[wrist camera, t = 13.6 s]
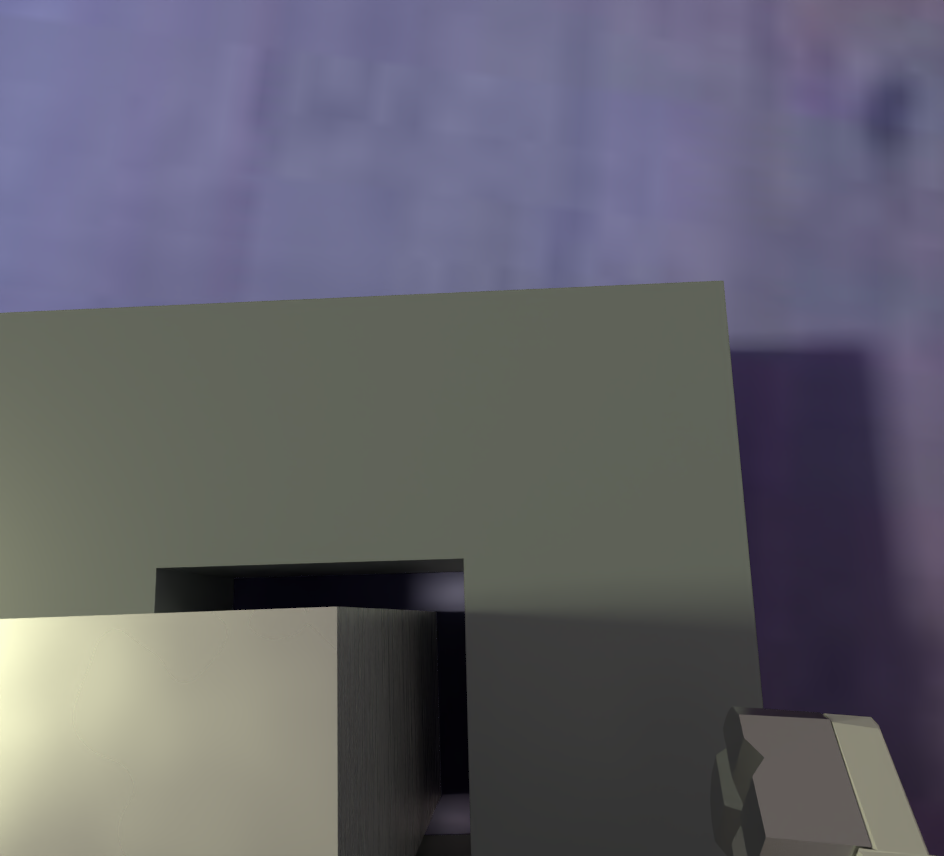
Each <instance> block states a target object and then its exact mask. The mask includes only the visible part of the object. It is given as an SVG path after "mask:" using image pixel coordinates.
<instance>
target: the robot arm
mask: <svg viewBox="0 0 944 856" xmlns="http://www.w3.org/2000/svg"><path fill="white" fill-rule="evenodd" d="M723 733H724V738H725V744H726V748H725V749H724V750H723V751H721V752H720V753H718V754H717V755H716V757H715V761H714V766H713V770H712V775H711V791H710V806H711V820H712V827H713V833H714V840H715V842H716V844H717V845H718V846H719V847H720V848H721V849H722V851H723V852H724V853H725V854H726V855H727V856H936V855H929V852H928V850H927V847H926V845H925V842H924V840H923V837H922V835H921V832H920V829H919V827H918V824H917V822H916V819H915V817H914V814H913V811H912V809H911V806H910V804H909V801H908V799H907V796H906V794H905V791H904V788H903V786H902V783H901V781H900V778H899V776H898V773H897V771H896V768H895V765H894V763H893V760H892V758H891V755H890V753H889V750H888V747H887V745H886V742H885V740H884V737H883V735H882V732H881V730H880V727H879V725H878V724H877V723H876V722H875V721H874V720H873V718H872V717H864V716H851V715H838V714H826V713H825V714H821V713H819V712H806V711H792V710H778V709H763V708H749V707H735V706H732V707H731V708H730V710H729V711H728V713H727V715H726V719H725V722H724V726H723Z"/></svg>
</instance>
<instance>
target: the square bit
mask: <svg viewBox="0 0 944 856" xmlns="http://www.w3.org/2000/svg"><path fill="white" fill-rule="evenodd" d="M441 795H442V791H441V753H440V716H439V678H438V640H437V611H417V610H396V609H376V608H356V607H312V608H285V609H258V610H231V611H204V612H177V613H150V614H123V615H96V616H69V617H42V618H15V619H0V856H415V855H416V853H417V851H418V848H419V846H420V844H421V841H422V839H423V837H424V834H425V832H426V830H427V828H428V825H429V823H430V821H431V818H432V816H433V814H434V811H435V809H436V807H437V804H438V802H439V800H440V798H441Z"/></svg>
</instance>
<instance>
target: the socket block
mask: <svg viewBox="0 0 944 856" xmlns="http://www.w3.org/2000/svg"><path fill="white" fill-rule="evenodd" d="M431 572H464V594H465V633H466V673H467V713H468V752H469V792H470V831H471V834H462V835H424V837H423V839H422V841H421V844H420V846H419V848H418V851H417V853H416V855H415V856H727V855H726V854H725V853H724V852H723V851H722V849H721V848H720V847H719V846H718V845H717V844H716V842H715V840H714V833H713V827H712V820H711V806H710V791H711V775H712V770H713V766H714V761H715V757H716V755H717V754H718V753H720V752H721V751H723V750H724V749H725V748H726V744H725V738H724V733H723V726H724V722H725V719H726V715H727V713H728V711H729V710H730V708H731V707H732V706H735V707H749V708H763V699H762V689H761V678H760V667H759V657H758V646H757V635H756V624H755V614H754V603H753V592H752V582H751V571H750V560H749V549H748V539H747V528H746V517H745V507H744V496H743V485H742V475H741V464H740V453H739V442H738V432H737V421H736V410H735V400H734V389H733V378H732V368H731V357H730V346H729V335H728V325H727V314H726V303H725V293H724V282H723V281H706V282H683V283H661V284H638V285H616V286H593V287H571V288H549V289H526V290H504V291H481V292H459V293H437V294H414V295H392V296H369V297H347V298H325V299H302V300H280V301H257V302H235V303H212V304H190V305H168V306H145V307H123V308H100V309H78V310H56V311H33V312H11V313H0V619H15V618H42V617H69V616H96V615H123V614H150V613H177V612H204V611H231V610H233V599H234V578H267V577H300V576H332V575H365V574H398V573H431Z"/></svg>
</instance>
